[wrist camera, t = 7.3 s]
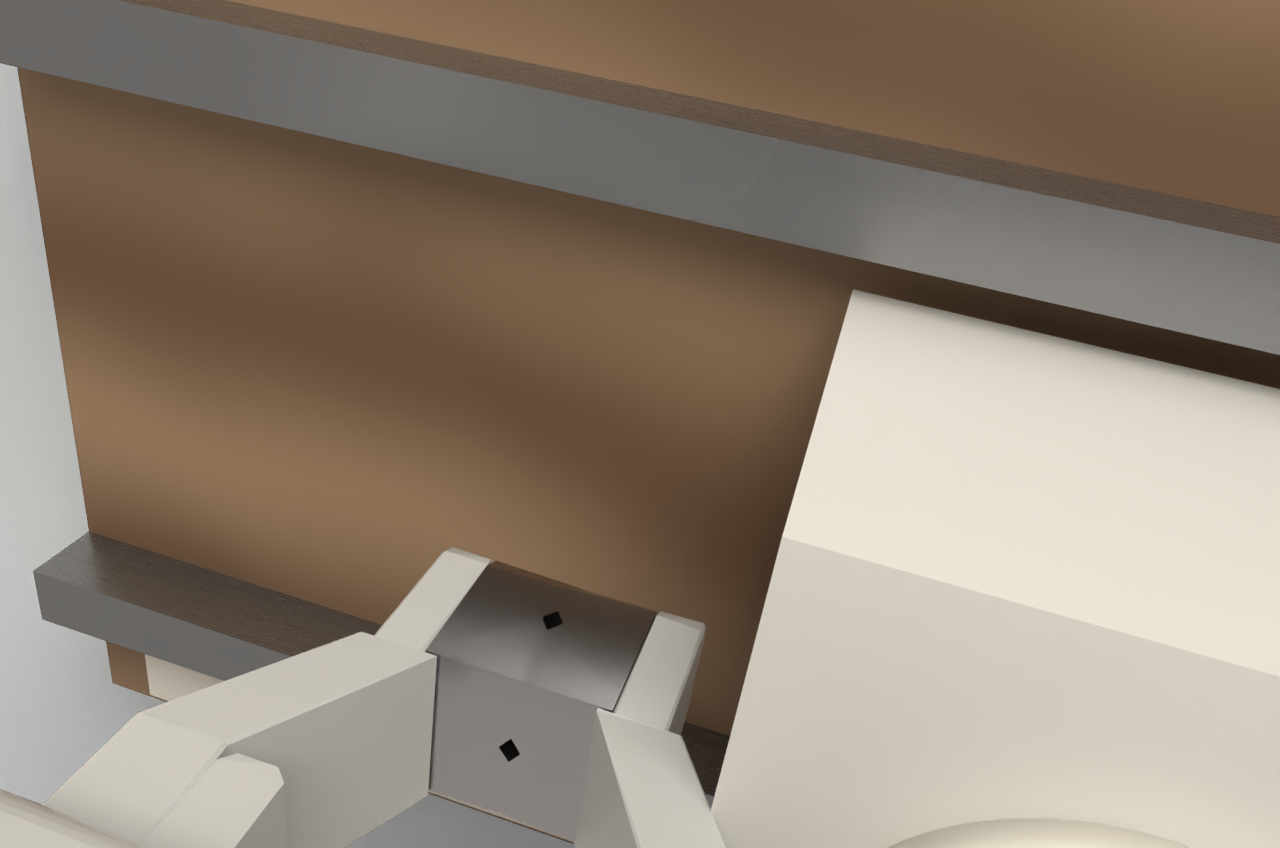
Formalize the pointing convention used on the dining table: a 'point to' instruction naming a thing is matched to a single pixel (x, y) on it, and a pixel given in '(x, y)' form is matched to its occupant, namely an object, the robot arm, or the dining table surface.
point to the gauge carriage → (1017, 603)
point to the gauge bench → (566, 296)
